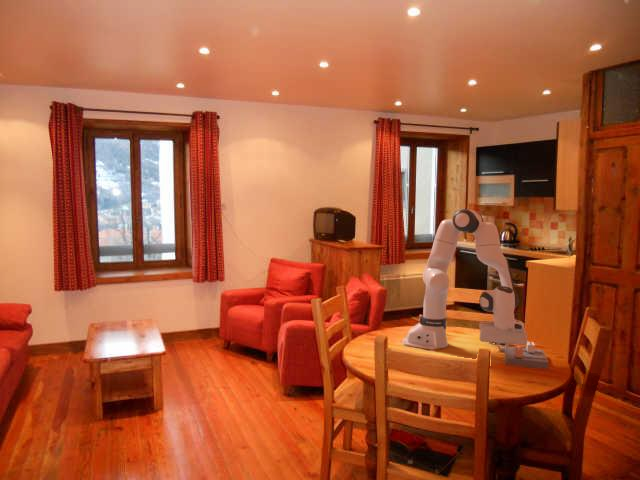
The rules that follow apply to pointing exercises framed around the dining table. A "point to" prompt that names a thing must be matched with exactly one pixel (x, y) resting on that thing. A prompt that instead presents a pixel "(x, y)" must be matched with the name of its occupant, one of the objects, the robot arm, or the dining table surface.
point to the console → (527, 358)
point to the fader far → (530, 347)
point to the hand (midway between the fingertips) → (502, 352)
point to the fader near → (518, 351)
